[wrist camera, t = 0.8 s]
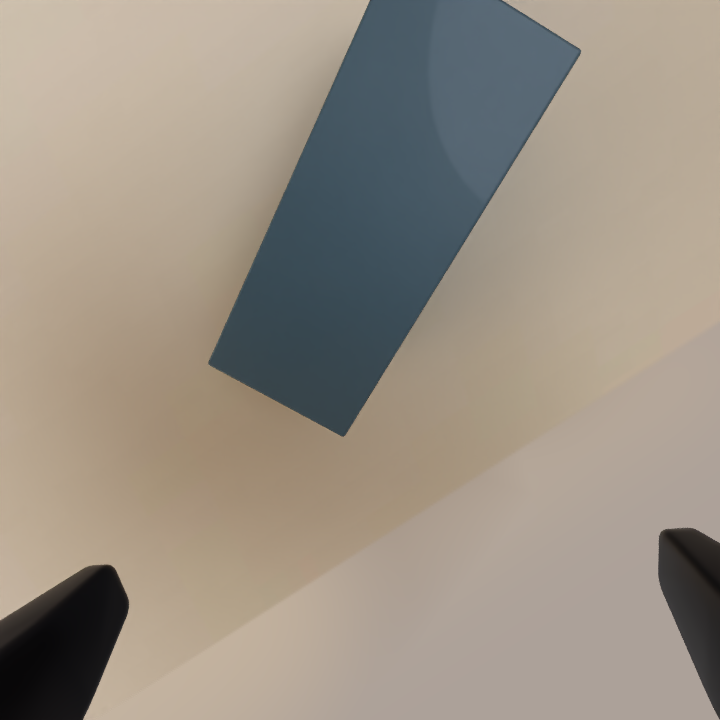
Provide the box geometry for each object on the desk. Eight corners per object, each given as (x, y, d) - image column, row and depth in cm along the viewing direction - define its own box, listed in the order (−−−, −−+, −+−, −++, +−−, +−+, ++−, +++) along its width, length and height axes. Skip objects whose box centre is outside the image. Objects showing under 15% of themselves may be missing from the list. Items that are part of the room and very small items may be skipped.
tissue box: (406, 34, 16) (398, -69, 10) (521, 104, 17) (589, 52, 10) (274, 306, 20) (206, 364, 14) (369, 359, 20) (347, 440, 14)
